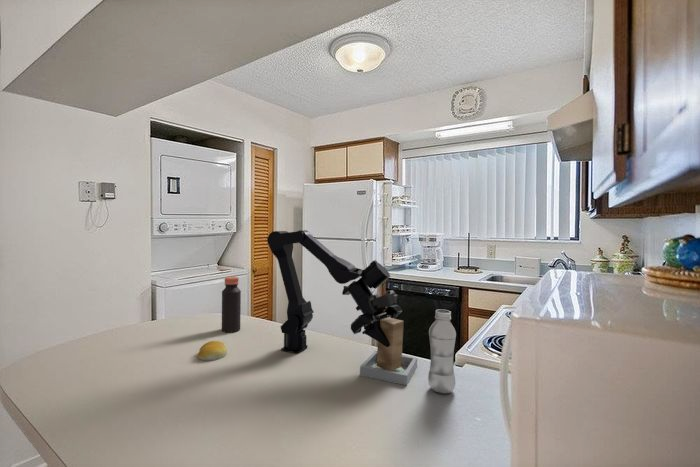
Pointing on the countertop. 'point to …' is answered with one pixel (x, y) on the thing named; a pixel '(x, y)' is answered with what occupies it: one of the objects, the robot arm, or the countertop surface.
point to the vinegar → (231, 306)
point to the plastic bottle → (442, 353)
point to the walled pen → (387, 375)
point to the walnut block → (391, 344)
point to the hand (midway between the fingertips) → (394, 343)
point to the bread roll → (212, 351)
